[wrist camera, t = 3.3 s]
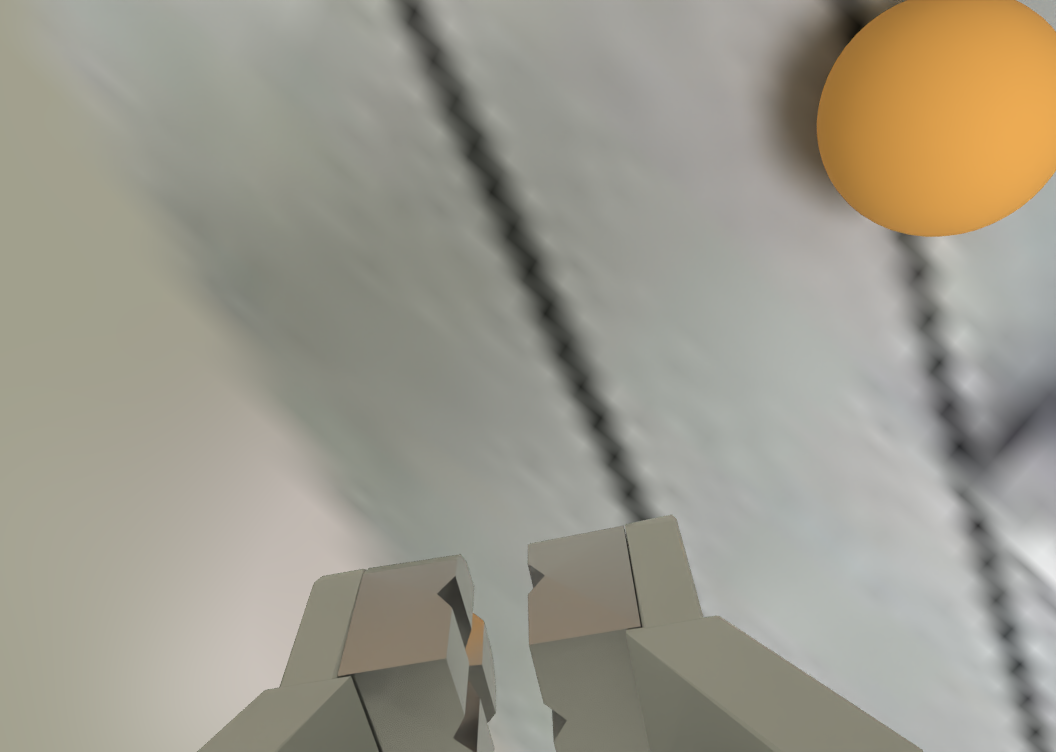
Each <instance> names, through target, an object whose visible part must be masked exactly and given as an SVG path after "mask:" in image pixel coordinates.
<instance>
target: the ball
mask: <svg viewBox="0 0 1056 752" xmlns="http://www.w3.org/2000/svg"><path fill="white" fill-rule="evenodd" d="M817 139H818V146H819V151H820V155H821V158H822V162H823V164H824V167H825V169H826V172H827V174H828V176H829V178H830V180H831V182H832V183H833V185H834V186H835V188H836V190H837V191H838V192H839V193H840V194H841V196H842V197H843V198H844V199H845V200H846V201H847V202H848V204H849V205H850V206H852V207H853V208H854V209H855V210H856V211H858V212H859V213H860V214H861V215H863V216H865V217H866V218H868V219H869V220H871V221H873V222H875V223H876V224H878V225H881V226H883V227H885V228H888V229H890V230H893V231H897V232H901V233H905V234H909V235H917V236H925V237H935V236H949V235H957V234H963V233H967V232H970V231H974V230H977V229H980V228H983V227H985V226H988V225H990V224H993V223H995V222H997V221H999V220H1001V219H1003V218H1004V217H1006V216H1008V215H1010V214H1011V213H1013V212H1014V211H1016V210H1017V209H1019V208H1020V207H1022V206H1023V205H1024V204H1025V203H1027V202H1028V201H1029V200H1030V199H1032V198H1033V197H1034V196H1035V195H1036V194H1037V193H1038V192H1039V191H1040V190H1041V189H1042V188H1043V186H1044V185H1045V184H1046V183H1047V182H1048V180H1049V179H1050V178H1051V177H1052V175H1053V174H1054V172H1055V171H1056V32H1055V30H1054V29H1053V28H1052V27H1051V26H1050V25H1049V24H1048V23H1047V22H1046V21H1045V20H1044V19H1043V18H1042V17H1041V16H1040V15H1038V14H1037V13H1036V12H1034V11H1033V10H1031V9H1030V8H1029V7H1027V6H1026V5H1024V4H1022V3H1020V2H1018V1H1016V0H907V1H904V2H902V3H900V4H897V5H895V6H893V7H892V8H890V9H888V10H886V11H885V12H883V13H881V14H880V15H879V16H877V17H876V18H875V19H873V20H872V21H871V22H869V23H868V24H867V25H866V26H865V27H864V28H863V29H861V30H860V31H859V32H858V33H857V34H856V35H855V36H854V37H853V39H852V40H851V41H850V42H849V43H848V44H847V46H846V47H845V48H844V50H843V51H842V53H841V54H840V56H839V57H838V59H837V60H836V61H835V63H834V65H833V67H832V69H831V71H830V73H829V75H828V77H827V80H826V83H825V85H824V88H823V91H822V95H821V99H820V102H819V108H818V116H817Z"/></svg>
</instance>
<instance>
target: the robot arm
mask: <svg viewBox="0 0 1056 752" xmlns="http://www.w3.org/2000/svg"><path fill="white" fill-rule="evenodd" d="M625 527H626V534H625V529H624V526H619V527H614V528H609V529H603V530H598V531H593V532H588V533H582V534H577V535H572V536H567V537H561V538H556V539H551V540H546V541H540V542H535V543H530V544H528V567H529V571H530V575H531V579H532V584H533V589H532V591H531V592H530V593H529V594H528V621H529V647H530V651H531V655H532V659H533V663H534V667H535V671H536V675H537V679H538V683H539V687H540V691H541V694H542V698H543V702H544V704H545V705H547V706H548V707H550V708H551V709H552V716H553V736H554V744H555V748H556V752H923V750H922V749H920V748H919V747H917V746H916V745H914V744H913V743H911V742H910V741H908V740H907V739H905V738H904V737H902V736H901V735H899V734H898V733H896V732H894V731H893V730H891V729H890V728H888V727H887V726H885V725H884V724H882V723H881V722H879V721H878V720H876V719H875V718H873V717H872V716H870V715H869V714H867V713H866V712H864V711H863V710H861V709H860V708H858V707H857V706H855V705H853V704H852V703H850V702H849V701H847V700H846V699H844V698H843V697H841V696H840V695H838V694H837V693H835V692H834V691H832V690H831V689H829V688H828V687H826V686H825V685H823V684H822V683H820V682H819V681H817V680H816V679H814V678H813V677H811V676H809V675H808V674H806V673H805V672H803V671H802V670H800V669H799V668H797V667H796V666H794V665H793V664H791V663H790V662H788V661H787V660H785V659H784V658H782V657H781V656H779V655H778V654H776V653H775V652H773V651H772V650H770V649H768V648H767V647H765V646H764V645H762V644H761V643H759V642H758V641H756V640H755V639H753V638H752V637H750V636H749V635H747V634H746V633H744V632H743V631H741V630H740V629H738V628H737V627H735V626H734V625H732V624H731V623H729V622H728V621H726V620H724V619H723V618H721V617H720V616H712V617H705V618H703V614H702V610H701V607H700V603H699V599H698V596H697V592H696V588H695V585H694V581H693V577H692V574H691V570H690V566H689V563H688V559H687V555H686V552H685V548H684V544H683V541H682V537H681V533H680V530H679V526H678V522H677V519H676V518H675V517H674V516H673V515H668V516H663V517H658V518H653V519H648V520H644V521H639V522H634V523H629V524H625ZM626 536H627V539H626ZM627 542H628V544H627ZM628 547H629V549H628ZM629 553H630V554H629ZM630 558H631V559H630ZM631 563H632V564H631ZM473 599H474V585H473V581H472V578H471V575H470V572H469V569H468V565H467V562H466V560H465V559H464V558H463V556H462V555H461V554H459V555H452V556H446V557H439V558H432V559H426V560H419V561H413V562H406V563H400V564H393V565H386V566H380V567H373V568H369V569H368V570H366V569H360V570H354V571H349V572H343V573H338V574H332V575H326V576H322V577H321V578H320V579H318V580H317V581H316V582H315V583H314V585H313V588H312V591H311V593H310V596H309V599H308V602H307V605H306V609H305V612H304V615H303V618H302V621H301V624H300V627H299V630H298V633H297V636H296V639H295V642H294V645H293V648H292V651H291V654H290V657H289V660H288V663H287V666H286V669H285V672H284V675H283V678H282V681H281V684H280V687H279V688H274V689H268V690H265V691H263V692H262V693H261V694H260V695H259V696H258V697H257V698H256V699H255V700H254V701H252V702H251V703H250V704H249V705H248V706H247V707H246V708H245V709H244V710H243V711H241V712H240V713H239V714H238V715H237V716H236V717H235V718H234V719H233V720H232V721H230V722H229V723H228V724H227V725H226V726H225V727H224V728H223V729H222V730H221V731H219V732H218V733H217V734H216V735H215V736H214V737H213V738H212V739H211V740H210V741H208V742H207V743H206V744H205V745H204V746H203V747H202V748H201V749H200V750H199V751H197V752H494V745H493V741H492V738H491V735H490V731H489V728H488V724H487V723H488V722H489V721H490V719H491V718H492V717H493V716H494V714H495V713H496V685H495V674H494V663H493V657H492V652H491V647H490V642H489V638H488V634H487V630H486V627H485V623H484V621H483V620H482V619H481V618H479V617H478V616H477V615H475V614H474V613H473Z"/></svg>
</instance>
